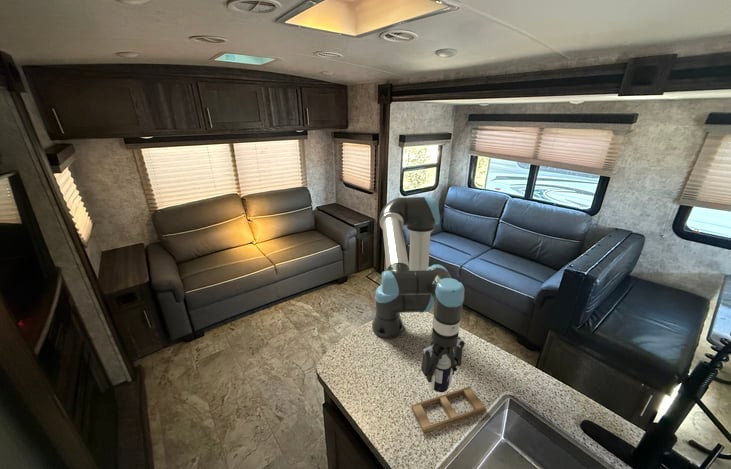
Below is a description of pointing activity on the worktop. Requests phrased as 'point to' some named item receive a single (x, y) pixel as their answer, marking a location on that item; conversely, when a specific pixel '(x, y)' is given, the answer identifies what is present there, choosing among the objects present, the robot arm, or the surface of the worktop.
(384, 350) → the worktop surface
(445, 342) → the robot arm
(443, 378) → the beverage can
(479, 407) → the wooden frame
